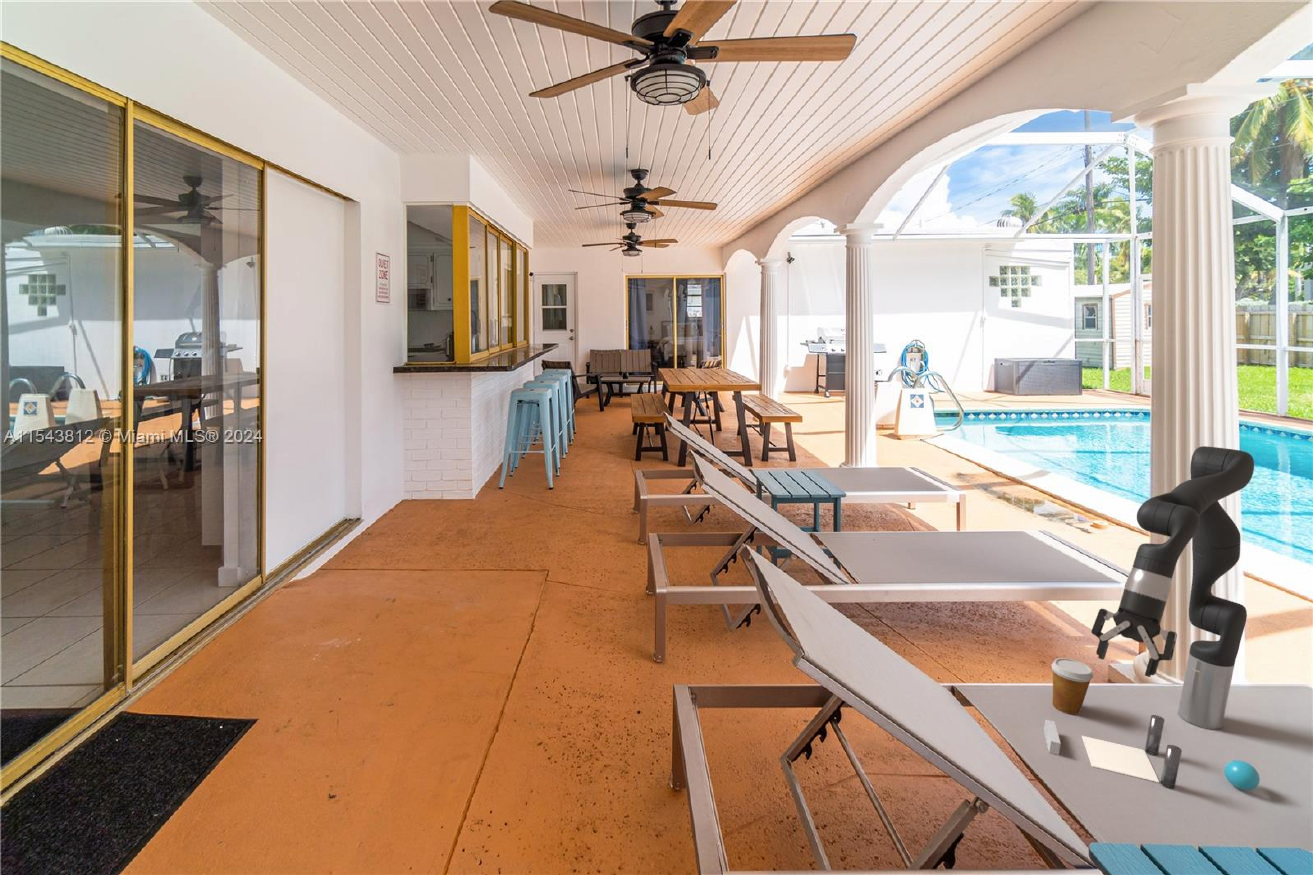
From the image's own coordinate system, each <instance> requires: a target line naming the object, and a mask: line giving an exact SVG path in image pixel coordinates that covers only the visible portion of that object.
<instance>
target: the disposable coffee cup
mask: <svg viewBox="0 0 1313 875" xmlns="http://www.w3.org/2000/svg"><path fill="white" fill-rule="evenodd" d="M1051 668H1052V706H1053V708H1055V709H1056V710H1058V711H1060V712H1062V713H1064V714H1069V715H1078V714H1080V713H1079V712H1081V710H1082V707H1083V703H1084V700H1085V697H1086V695H1087V691H1088V689H1089V686H1090V683H1091V681H1092V679H1093V678H1094V674H1093V670H1092V668H1091V667H1090V666H1089V665H1087V664H1086V663H1083V662H1081V661H1078V660H1076V659H1071V658H1067V657H1066V658H1065V657H1058V658H1055V659H1054V661H1053V662H1052V663H1051Z"/></svg>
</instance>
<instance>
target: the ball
mask: <svg viewBox="0 0 1313 875" xmlns="http://www.w3.org/2000/svg"><path fill="white" fill-rule="evenodd" d="M1223 771H1224V776H1225V778H1226V780H1227V782H1229V783H1230V785H1232V786H1233V787H1234V788H1237V789H1239V790H1242V791H1251V790H1254V789H1256V788H1257V787H1258V786H1259V784H1260V781H1261V780H1260V779H1261V778H1260V774H1259V772H1258V771H1257V769H1256V768H1255V767H1254V766H1253V765H1252V764H1250V763H1249V762H1247V761H1245V760H1241V759H1240V760H1239V759H1236V760H1231V761H1229V762H1227V763H1226V765H1225V766H1224V769H1223Z"/></svg>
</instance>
